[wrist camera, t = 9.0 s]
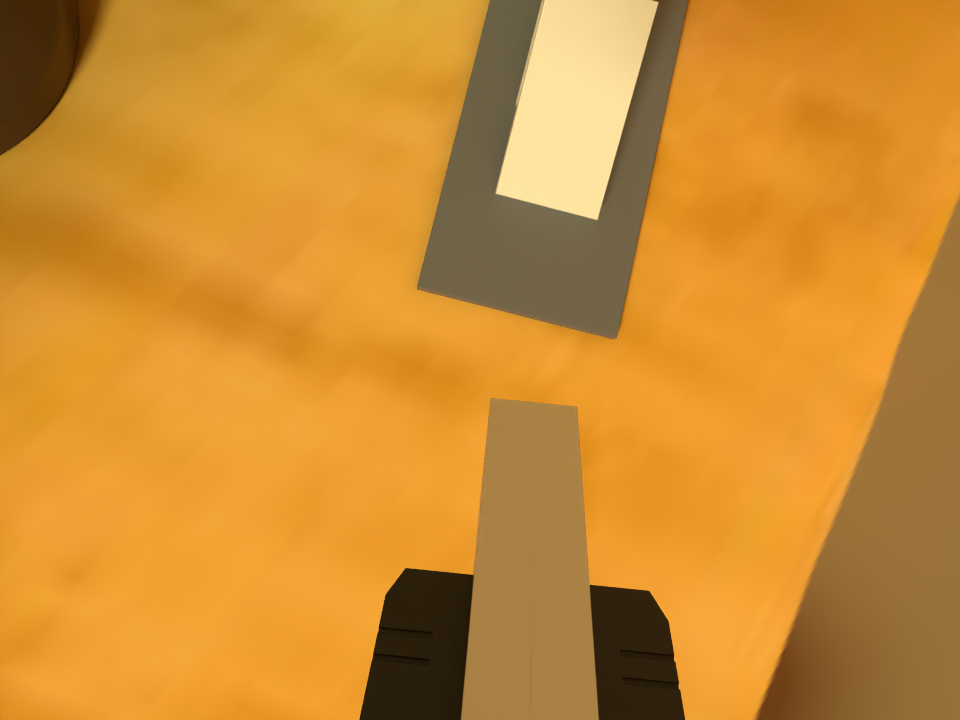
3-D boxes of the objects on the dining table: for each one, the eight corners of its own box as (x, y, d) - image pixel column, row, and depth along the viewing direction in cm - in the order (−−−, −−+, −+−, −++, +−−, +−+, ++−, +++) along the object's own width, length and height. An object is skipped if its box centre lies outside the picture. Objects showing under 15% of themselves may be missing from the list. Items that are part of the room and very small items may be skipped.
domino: (597, 219, 38) (658, 2, 36) (495, 193, 38) (551, -28, 36) (592, 218, 40) (650, 9, 38) (494, 193, 39) (548, -19, 37)
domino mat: (613, 339, 40) (616, 337, 39) (417, 289, 39) (417, 286, 38) (696, -53, 43) (700, -60, 42) (517, -105, 42) (518, -113, 42)
